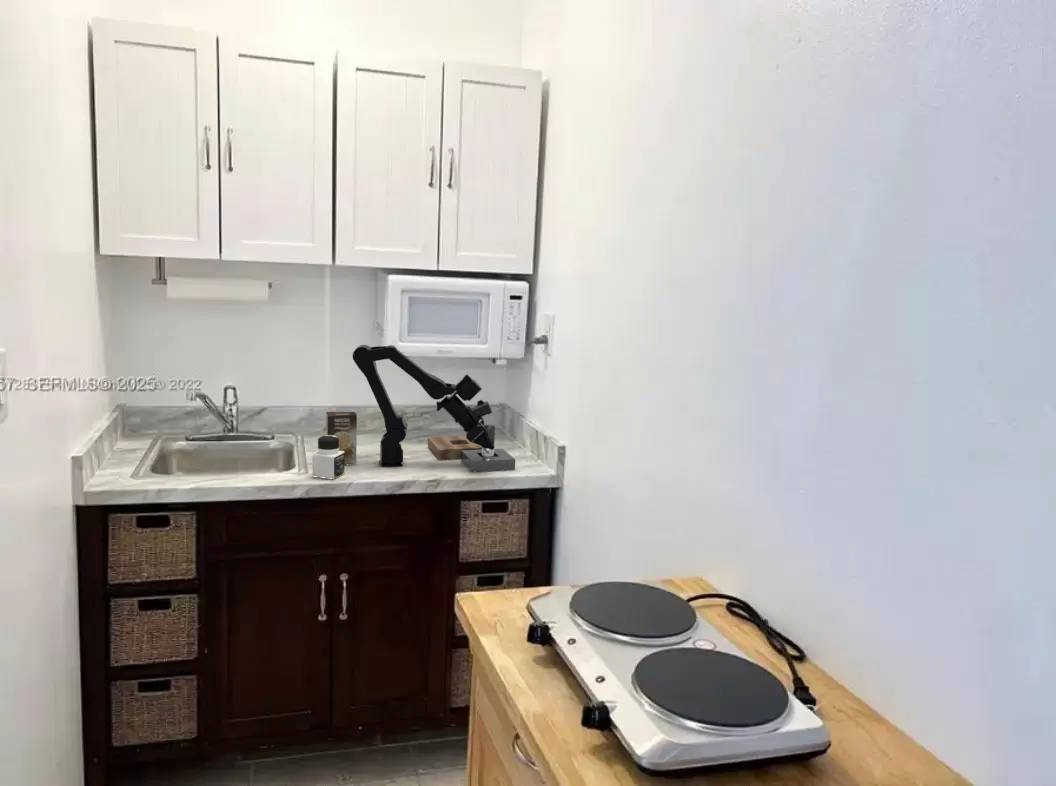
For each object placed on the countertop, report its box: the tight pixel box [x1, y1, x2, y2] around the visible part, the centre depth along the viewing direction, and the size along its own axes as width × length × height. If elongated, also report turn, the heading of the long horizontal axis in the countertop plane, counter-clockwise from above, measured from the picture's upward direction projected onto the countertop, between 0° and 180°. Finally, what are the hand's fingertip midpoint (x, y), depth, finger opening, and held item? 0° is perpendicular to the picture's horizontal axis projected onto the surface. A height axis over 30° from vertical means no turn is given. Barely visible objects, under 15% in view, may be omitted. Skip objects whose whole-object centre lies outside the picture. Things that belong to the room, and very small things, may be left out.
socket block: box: [460, 448, 516, 473], centre depth 256 cm, size 14×14×4 cm
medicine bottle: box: [311, 435, 346, 480], centre depth 236 cm, size 7×7×12 cm
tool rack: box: [427, 435, 482, 461], centre depth 271 cm, size 18×18×4 cm
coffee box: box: [325, 411, 358, 466], centre depth 251 cm, size 9×6×16 cm
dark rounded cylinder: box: [482, 424, 496, 457], centre depth 255 cm, size 4×4×13 cm
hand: (492, 445), depth 255 cm, fingers open, 9 cm apart
